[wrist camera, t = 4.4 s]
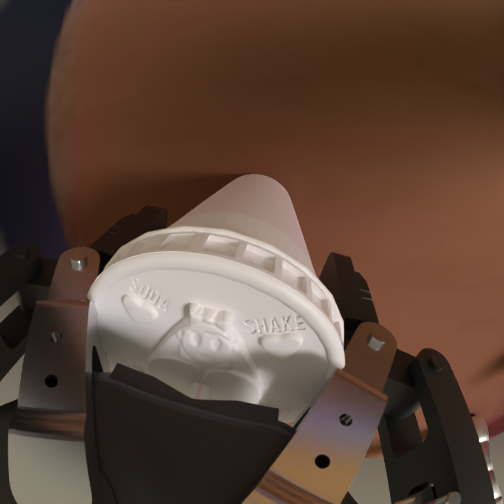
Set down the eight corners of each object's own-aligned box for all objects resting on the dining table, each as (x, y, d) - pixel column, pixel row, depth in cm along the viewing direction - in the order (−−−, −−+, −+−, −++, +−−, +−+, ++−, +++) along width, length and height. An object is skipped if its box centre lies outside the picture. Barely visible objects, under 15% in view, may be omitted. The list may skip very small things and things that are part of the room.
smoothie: (189, 249, 16) (61, 498, 4) (200, 136, 13) (-100, 378, 1) (301, 274, 16) (286, 560, 4) (334, 163, 13) (463, 558, 1)
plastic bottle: (432, 432, 26) (443, 561, 9) (473, 406, 23) (497, 543, 5) (451, 435, 27) (464, 548, 10) (488, 411, 24) (510, 529, 6)
